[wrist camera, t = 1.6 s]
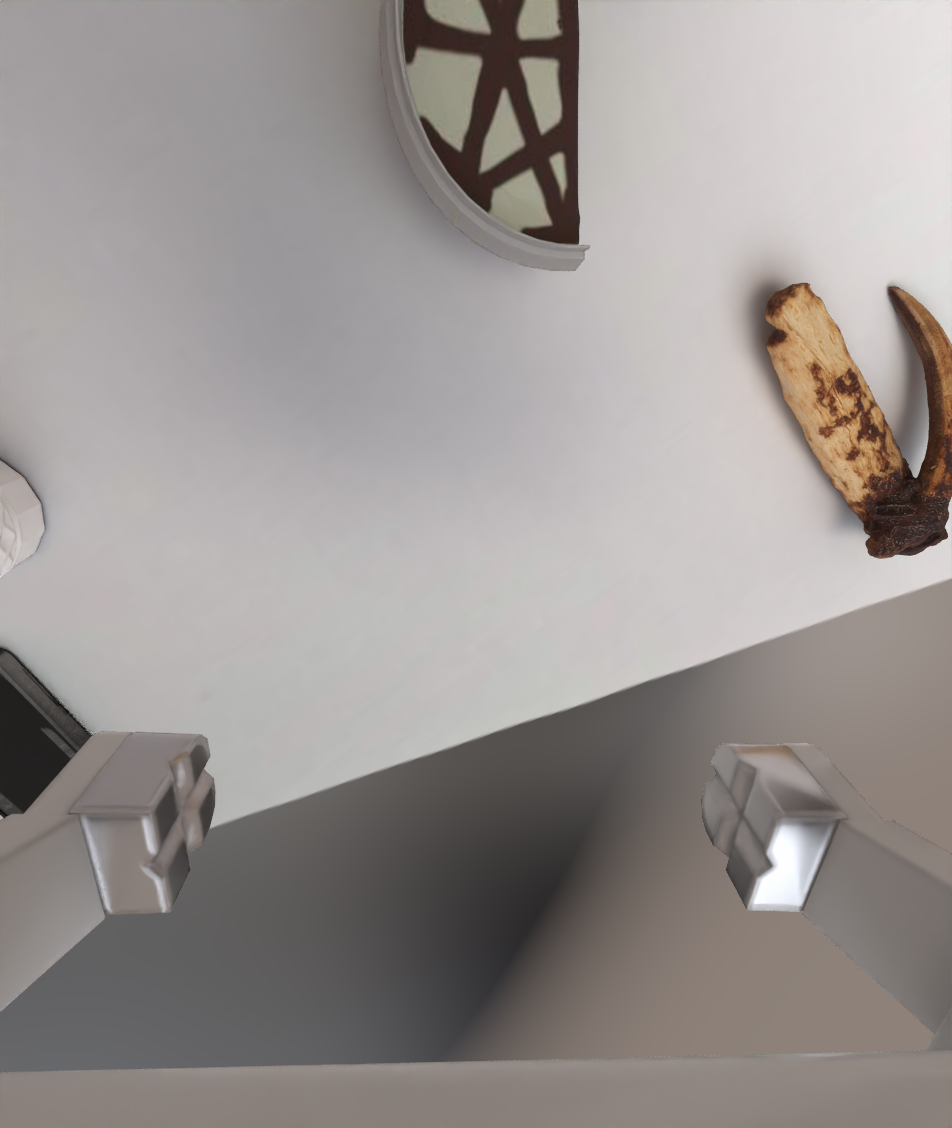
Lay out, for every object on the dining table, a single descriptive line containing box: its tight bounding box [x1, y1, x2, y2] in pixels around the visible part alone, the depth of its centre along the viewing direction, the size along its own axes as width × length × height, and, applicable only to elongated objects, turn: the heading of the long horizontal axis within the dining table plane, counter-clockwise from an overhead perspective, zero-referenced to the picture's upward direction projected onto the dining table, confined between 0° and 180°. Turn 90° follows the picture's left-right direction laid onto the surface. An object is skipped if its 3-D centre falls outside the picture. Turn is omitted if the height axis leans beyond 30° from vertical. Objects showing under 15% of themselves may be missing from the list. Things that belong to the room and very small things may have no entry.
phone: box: [0, 649, 90, 818], centre depth 36 cm, size 8×1×15 cm
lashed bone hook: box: [765, 283, 952, 559], centre depth 30 cm, size 9×5×18 cm
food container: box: [379, 0, 590, 271], centre depth 21 cm, size 12×6×10 cm, turn 5°
